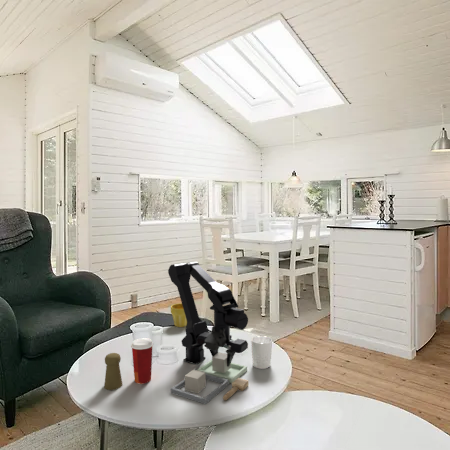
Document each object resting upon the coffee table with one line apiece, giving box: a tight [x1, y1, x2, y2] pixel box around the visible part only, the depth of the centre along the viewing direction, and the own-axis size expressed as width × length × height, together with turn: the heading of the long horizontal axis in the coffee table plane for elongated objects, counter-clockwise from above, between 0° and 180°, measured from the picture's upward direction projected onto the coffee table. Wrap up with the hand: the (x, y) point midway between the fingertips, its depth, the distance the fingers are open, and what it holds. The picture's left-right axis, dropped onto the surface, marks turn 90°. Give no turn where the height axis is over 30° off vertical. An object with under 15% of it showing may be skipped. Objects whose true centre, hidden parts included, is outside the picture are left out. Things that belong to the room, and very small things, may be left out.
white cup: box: [250, 335, 273, 370], centre depth 147 cm, size 8×8×10 cm
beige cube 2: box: [184, 369, 207, 394], centre depth 129 cm, size 5×5×5 cm
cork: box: [103, 352, 123, 391], centre depth 131 cm, size 6×6×11 cm
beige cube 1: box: [211, 351, 231, 373], centre depth 141 cm, size 5×5×5 cm
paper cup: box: [130, 337, 154, 385], centre depth 135 cm, size 8×8×14 cm
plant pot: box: [170, 302, 187, 328], centre depth 193 cm, size 10×10×10 cm
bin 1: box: [170, 374, 230, 405], centre depth 129 cm, size 14×15×2 cm
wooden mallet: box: [222, 377, 249, 401], centre depth 126 cm, size 13×4×2 cm, turn 149°
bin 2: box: [196, 359, 248, 384], centre depth 141 cm, size 15×12×2 cm
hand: (222, 364), depth 141 cm, fingers closed on beige cube 1, 5 cm apart
